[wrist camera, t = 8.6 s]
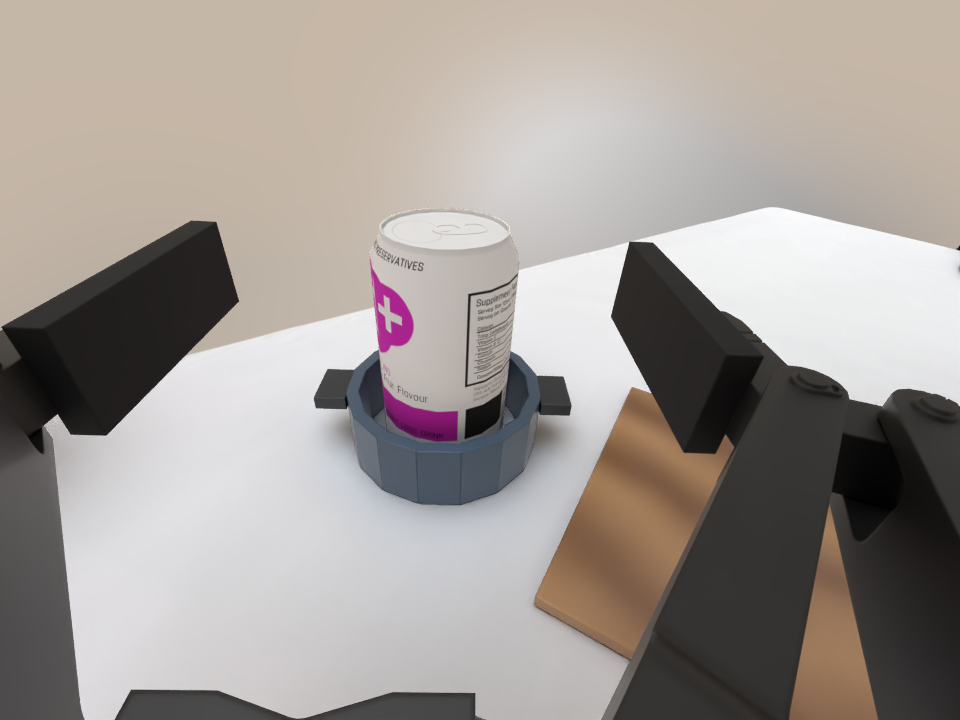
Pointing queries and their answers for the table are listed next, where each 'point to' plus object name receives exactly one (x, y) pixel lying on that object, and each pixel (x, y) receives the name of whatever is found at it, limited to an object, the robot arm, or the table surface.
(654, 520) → the wooden board
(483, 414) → the supplement can
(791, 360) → the table surface
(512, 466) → the pot
